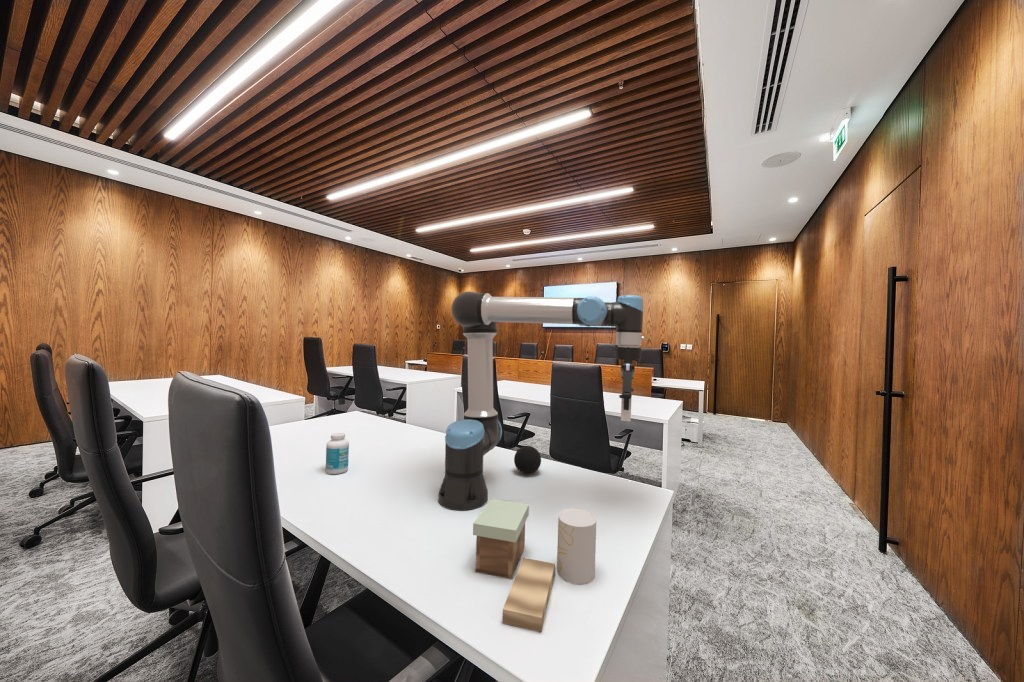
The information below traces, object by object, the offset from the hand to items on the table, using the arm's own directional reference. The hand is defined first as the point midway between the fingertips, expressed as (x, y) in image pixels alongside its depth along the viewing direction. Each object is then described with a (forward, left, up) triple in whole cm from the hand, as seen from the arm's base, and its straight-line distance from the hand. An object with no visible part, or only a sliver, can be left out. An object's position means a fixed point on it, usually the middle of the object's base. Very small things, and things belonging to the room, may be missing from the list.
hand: (625, 416), depth 114 cm
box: (-28, -38, -27) cm, 54 cm away
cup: (-11, -37, -28) cm, 48 cm away
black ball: (-34, +16, -28) cm, 46 cm away
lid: (-28, -38, -20) cm, 51 cm away
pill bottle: (-100, -5, -28) cm, 104 cm away
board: (-19, -48, -27) cm, 58 cm away
